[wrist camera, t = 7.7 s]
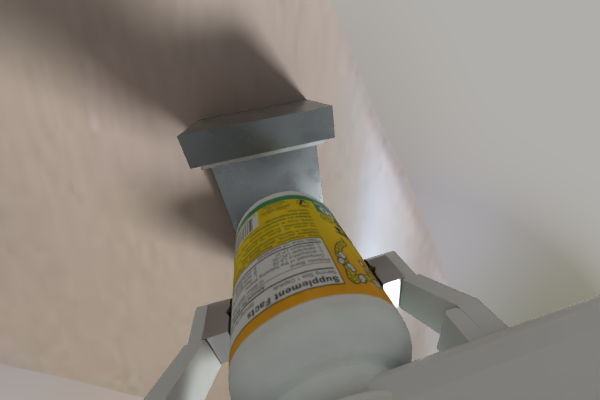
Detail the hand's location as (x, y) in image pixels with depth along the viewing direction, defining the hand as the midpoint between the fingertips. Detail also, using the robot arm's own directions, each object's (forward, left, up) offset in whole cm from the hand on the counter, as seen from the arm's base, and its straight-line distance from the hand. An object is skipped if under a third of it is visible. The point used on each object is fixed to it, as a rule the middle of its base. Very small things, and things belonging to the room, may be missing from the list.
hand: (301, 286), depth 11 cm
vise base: (+3, 0, -15) cm, 15 cm away
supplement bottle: (0, 0, -5) cm, 5 cm away
